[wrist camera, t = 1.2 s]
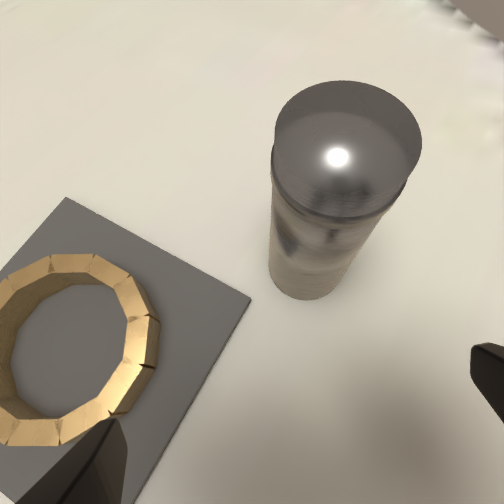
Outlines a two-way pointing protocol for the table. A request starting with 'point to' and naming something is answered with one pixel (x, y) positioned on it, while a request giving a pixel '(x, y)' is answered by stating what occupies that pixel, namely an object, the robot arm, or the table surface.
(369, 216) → the grey tall cylinder
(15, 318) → the ring collar
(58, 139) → the table surface
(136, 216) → the table surface
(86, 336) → the mat
